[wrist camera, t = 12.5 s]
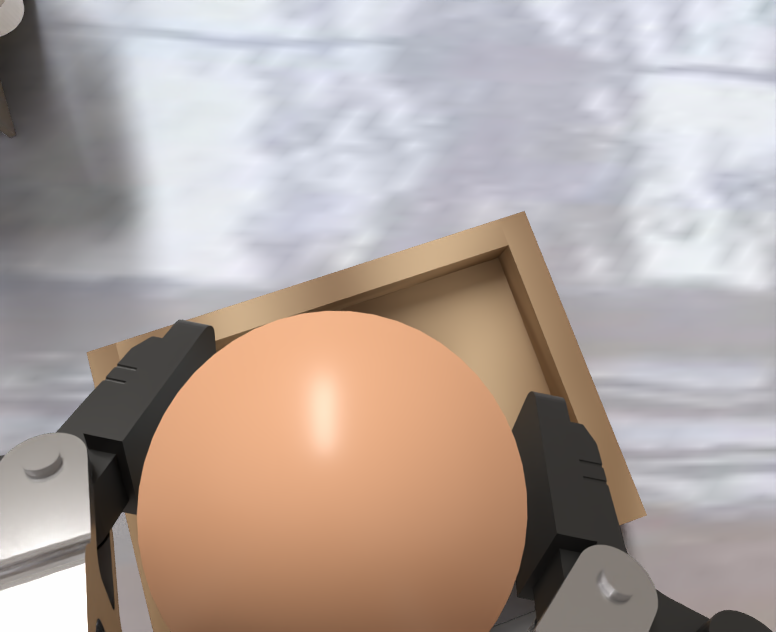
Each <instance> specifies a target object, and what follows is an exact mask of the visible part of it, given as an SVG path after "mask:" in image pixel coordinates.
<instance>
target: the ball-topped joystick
mask: <svg viewBox="0 0 776 632" xmlns="http://www.w3.org/2000/svg"><path fill="white" fill-rule="evenodd" d="M526 527H527V491H526V484H525V478H524V471H523V465H522V461H521V458H520V454H519V451H518V447H517V444H516V441H515V438H514V436H513V433H512V431H511V429H510V426H509V424H508V422H507V419H506V417H505V415H504V414H503V412H502V410H501V409H500V407H499V405H498V403H497V402H496V400H495V398H494V397H493V395H492V394H491V392H490V391H489V390H488V388H487V387H486V386H485V385H484V383H483V382H482V381H481V379H480V378H479V377H478V375H477V374H476V373H475V372H474V371H473V370H472V369H471V368H470V367H469V366H468V365H467V364H466V363H465V362H464V361H463V360H462V359H461V358H460V357H458V356H457V355H456V354H454V353H453V352H452V351H450V350H449V349H448V348H447V347H445V346H444V345H443V344H441V343H440V342H438V341H437V340H435V339H433V338H431V337H430V336H428V335H426V334H425V333H423V332H421V331H420V330H417V329H415V328H412V327H410V326H408V325H405V324H403V323H401V322H398V321H395V320H392V319H388V318H384V317H381V316H377V315H373V314H366V313H359V312H352V311H321V312H313V313H304V314H299V315H295V316H291V317H287V318H283V319H279V320H276V321H274V322H271V323H268V324H266V325H263V326H261V327H258V328H256V329H254V330H252V331H250V332H248V333H246V334H245V335H243V336H241V337H239V338H237V339H235V340H234V341H232V342H231V343H229V344H228V345H227V346H225V347H224V348H222V349H221V350H220V351H218V352H217V353H215V354H214V355H213V356H212V357H211V358H210V359H209V360H207V361H206V362H205V363H204V364H203V365H202V366H201V367H200V368H199V369H198V370H197V371H196V372H195V373H194V374H193V375H192V376H191V377H190V379H189V380H188V381H187V382H186V383H185V385H184V386H183V387H182V388H181V389H180V390H179V392H178V393H177V395H176V396H175V398H174V399H173V401H172V402H171V404H170V405H169V407H168V409H167V410H166V412H165V413H164V415H163V417H162V419H161V421H160V423H159V425H158V428H157V430H156V432H155V434H154V436H153V438H152V441H151V444H150V447H149V450H148V453H147V456H146V459H145V462H144V466H143V471H142V476H141V481H140V486H139V494H138V507H137V528H138V544H139V549H140V555H141V560H142V566H143V570H144V573H145V577H146V580H147V583H148V586H149V589H150V592H151V595H152V597H153V599H154V601H155V604H156V606H157V608H158V610H159V612H160V614H161V616H162V619H163V620H164V622H165V623H166V625H167V626H168V628H169V629H170V631H171V632H489V631H490V630H491V628H492V627H493V625H494V624H495V623H496V621H497V619H498V618H499V616H500V614H501V612H502V610H503V608H504V606H505V604H506V602H507V600H508V598H509V596H510V594H511V591H512V588H513V585H514V583H515V580H516V577H517V574H518V572H519V568H520V563H521V559H522V555H523V550H524V546H525V537H526Z"/></svg>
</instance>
